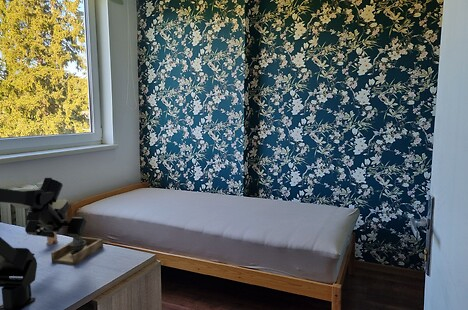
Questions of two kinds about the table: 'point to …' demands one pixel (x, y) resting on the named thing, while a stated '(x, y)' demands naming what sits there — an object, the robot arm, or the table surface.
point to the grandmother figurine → (52, 239)
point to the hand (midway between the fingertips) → (66, 236)
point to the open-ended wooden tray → (67, 258)
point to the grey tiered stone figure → (77, 245)
